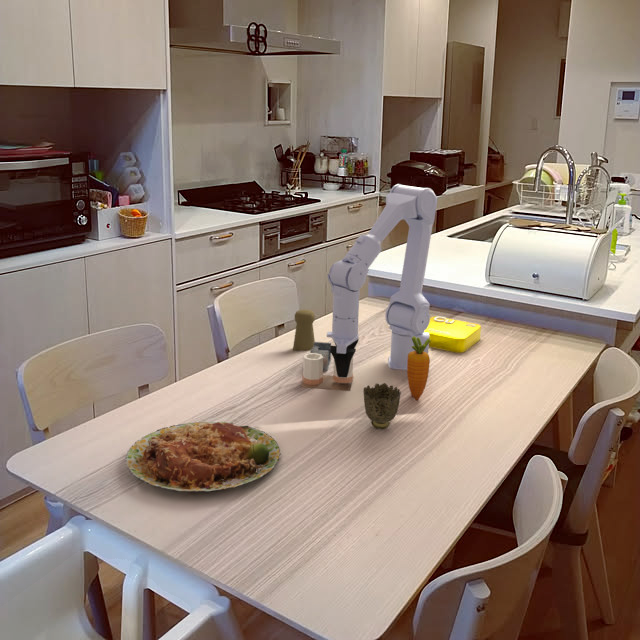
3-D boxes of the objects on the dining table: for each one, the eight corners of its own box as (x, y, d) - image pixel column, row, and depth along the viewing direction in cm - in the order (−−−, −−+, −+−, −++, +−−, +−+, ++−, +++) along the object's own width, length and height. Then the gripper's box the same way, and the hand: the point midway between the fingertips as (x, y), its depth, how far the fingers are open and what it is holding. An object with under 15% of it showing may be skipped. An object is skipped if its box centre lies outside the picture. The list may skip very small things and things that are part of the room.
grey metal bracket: (358, 367, 173) (359, 344, 172) (356, 377, 168) (357, 353, 166) (313, 364, 175) (314, 341, 173) (309, 373, 169) (310, 350, 167)
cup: (374, 437, 139) (375, 400, 136) (355, 422, 145) (356, 386, 142) (405, 430, 142) (408, 393, 139) (385, 415, 148) (387, 380, 146)
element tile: (409, 343, 192) (410, 327, 191) (432, 329, 204) (433, 313, 203) (462, 355, 185) (463, 338, 183) (482, 339, 197) (483, 323, 195)
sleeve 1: (320, 376, 164) (320, 352, 163) (324, 384, 160) (324, 359, 159) (301, 377, 164) (301, 353, 162) (305, 385, 159) (305, 360, 158)
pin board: (353, 381, 165) (354, 365, 164) (350, 395, 157) (350, 378, 156) (306, 378, 166) (307, 361, 165) (301, 392, 159) (301, 374, 158)
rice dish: (195, 419, 148) (194, 395, 146) (309, 448, 134) (308, 422, 133) (92, 478, 125) (89, 450, 123) (217, 521, 111) (215, 490, 110)
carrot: (429, 398, 157) (434, 334, 152) (423, 407, 152) (428, 341, 148) (408, 394, 159) (412, 331, 154) (401, 402, 154) (405, 338, 150)
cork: (315, 355, 181) (316, 314, 177) (291, 355, 181) (292, 313, 178) (316, 347, 187) (317, 307, 183) (293, 346, 187) (293, 306, 183)
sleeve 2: (353, 376, 163) (354, 351, 161) (351, 383, 158) (352, 358, 157) (334, 374, 163) (335, 350, 161) (332, 382, 159) (332, 357, 157)
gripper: (331, 304, 163) (330, 359, 168) (323, 324, 150) (321, 383, 154) (362, 306, 163) (359, 361, 167) (356, 326, 149) (354, 386, 153)
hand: (343, 372), depth 160 cm, fingers closed on sleeve 2, 4 cm apart
